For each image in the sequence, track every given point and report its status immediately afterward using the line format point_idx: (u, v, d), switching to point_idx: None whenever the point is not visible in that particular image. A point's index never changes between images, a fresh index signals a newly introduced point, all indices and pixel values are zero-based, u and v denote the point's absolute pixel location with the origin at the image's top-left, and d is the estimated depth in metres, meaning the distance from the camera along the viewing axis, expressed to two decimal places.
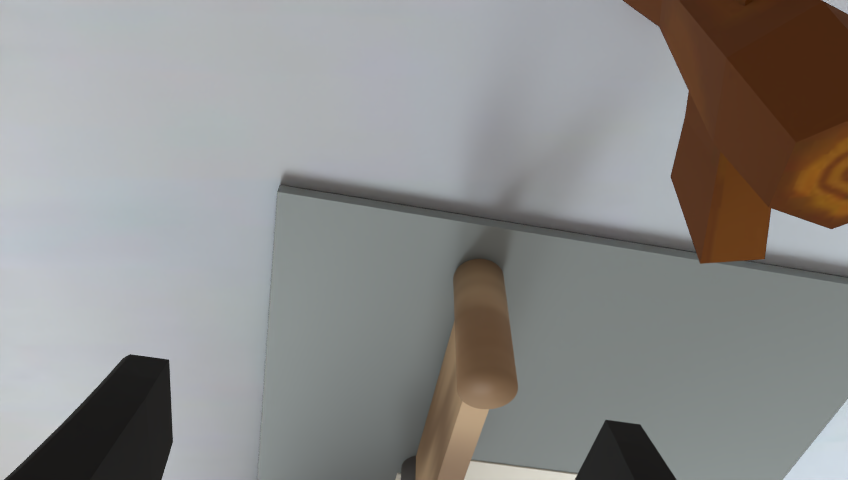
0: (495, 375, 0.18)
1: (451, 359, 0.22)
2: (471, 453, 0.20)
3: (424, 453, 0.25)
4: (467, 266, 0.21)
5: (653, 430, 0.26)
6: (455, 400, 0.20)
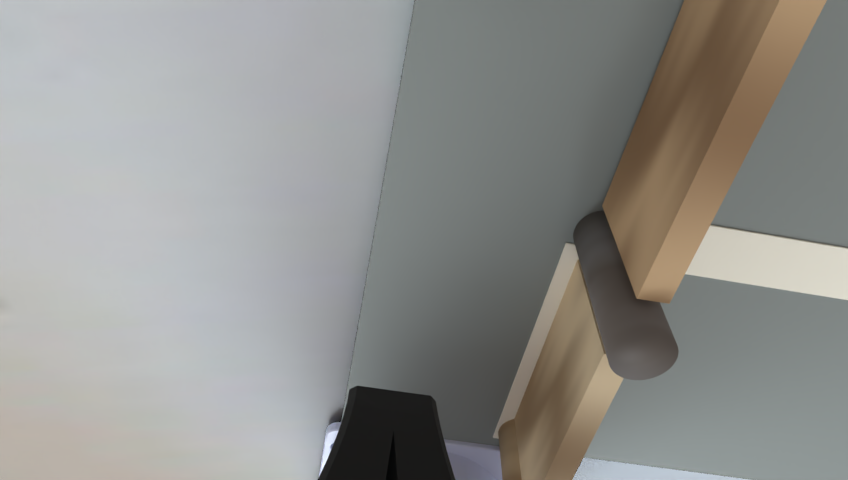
0: None
1: None
2: (786, 73, 0.13)
3: (637, 171, 0.17)
4: None
5: None
6: None
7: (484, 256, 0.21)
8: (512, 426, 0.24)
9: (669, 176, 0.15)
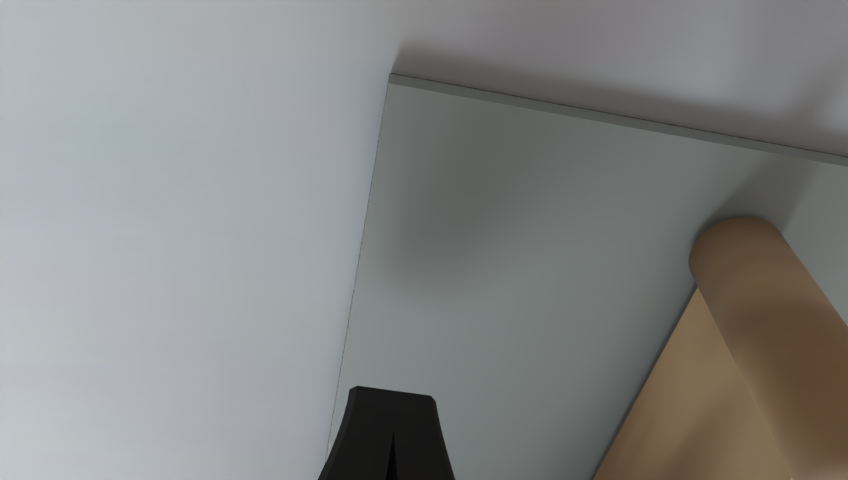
0: None
1: (681, 398, 0.12)
2: None
3: None
4: (729, 230, 0.11)
5: None
6: None
7: None
8: None
9: None
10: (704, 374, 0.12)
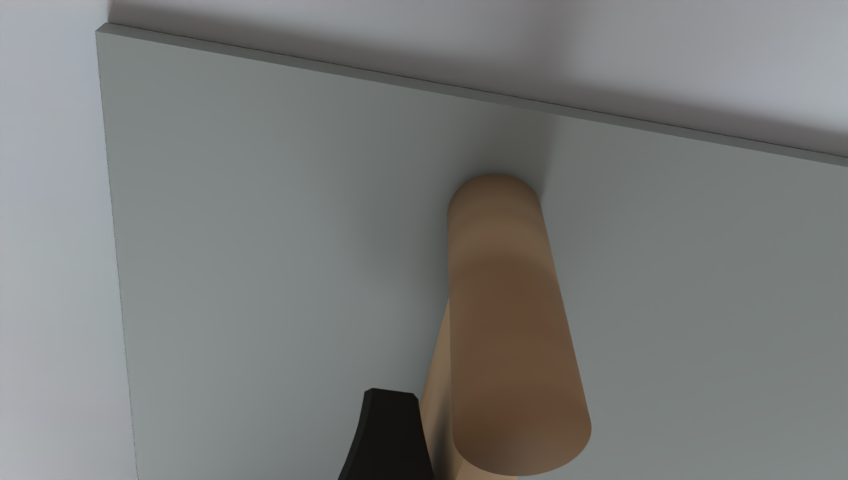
0: (541, 404, 0.08)
1: (443, 364, 0.12)
2: None
3: None
4: (474, 187, 0.11)
5: (773, 478, 0.16)
6: (450, 447, 0.10)
7: None
8: None
9: None
10: None
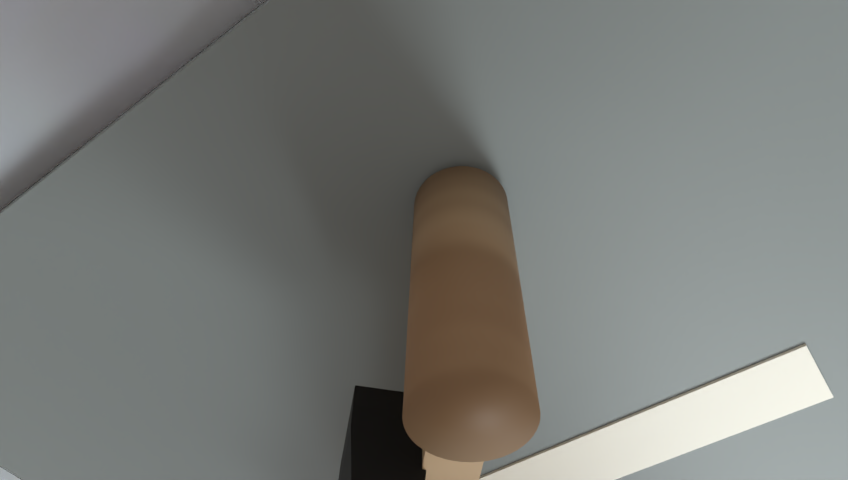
0: (485, 387, 0.08)
1: None
2: None
3: None
4: (436, 181, 0.11)
5: (633, 292, 0.13)
6: None
7: None
8: None
9: None
10: None
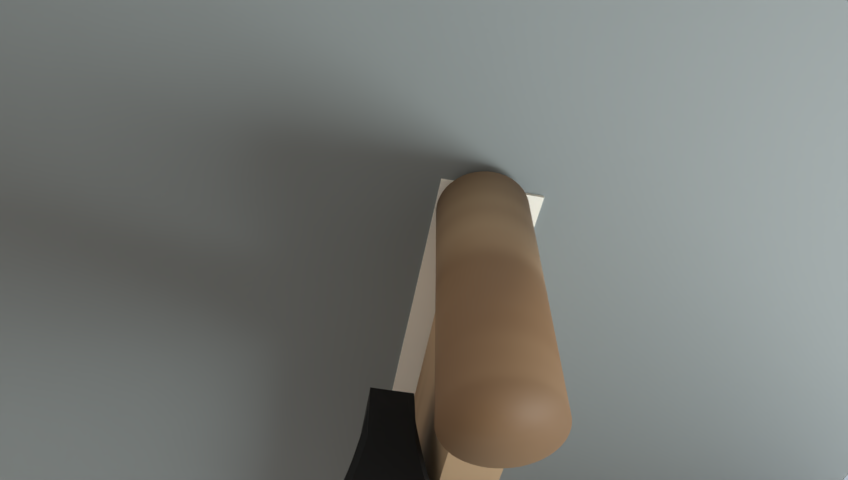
0: (521, 396, 0.08)
1: (434, 360, 0.12)
2: None
3: None
4: (461, 185, 0.11)
5: (250, 253, 0.13)
6: (437, 441, 0.10)
7: None
8: None
9: None
10: None
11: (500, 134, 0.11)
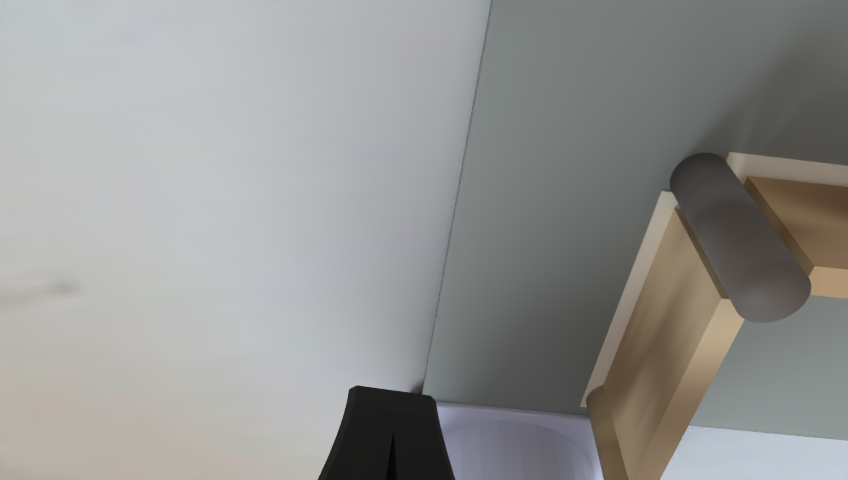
0: None
1: None
2: None
3: (835, 208, 0.18)
4: None
5: None
6: None
7: (575, 210, 0.20)
8: (602, 392, 0.23)
9: None
10: None
11: None
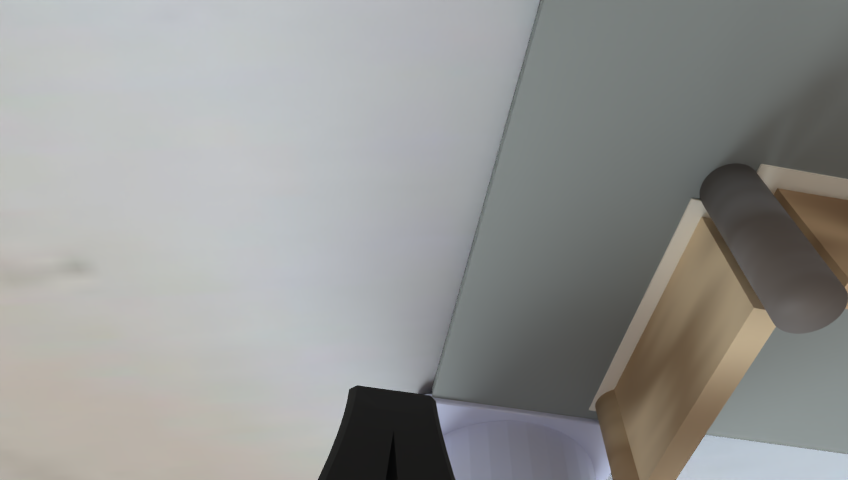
0: None
1: None
2: None
3: None
4: None
5: None
6: None
7: (604, 214, 0.20)
8: (613, 397, 0.23)
9: None
10: None
11: None
